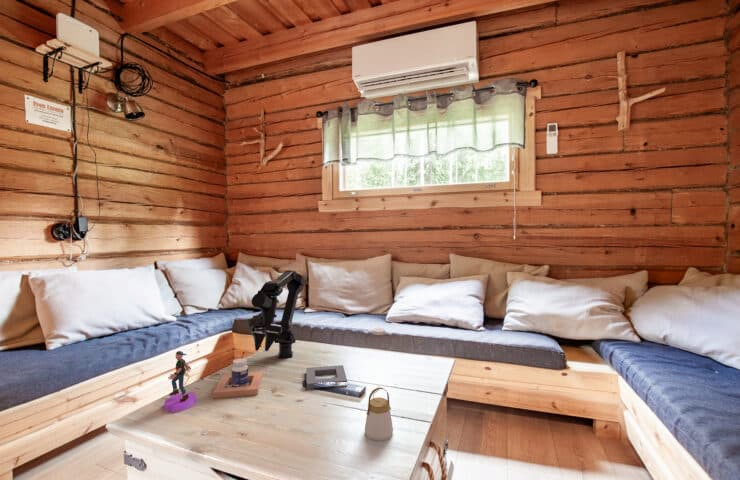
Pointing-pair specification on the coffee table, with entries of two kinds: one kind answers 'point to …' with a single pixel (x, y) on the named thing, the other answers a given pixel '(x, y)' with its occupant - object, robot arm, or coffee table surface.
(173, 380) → the figurine
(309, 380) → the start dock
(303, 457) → the coffee table surface
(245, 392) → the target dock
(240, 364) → the pill bottle
